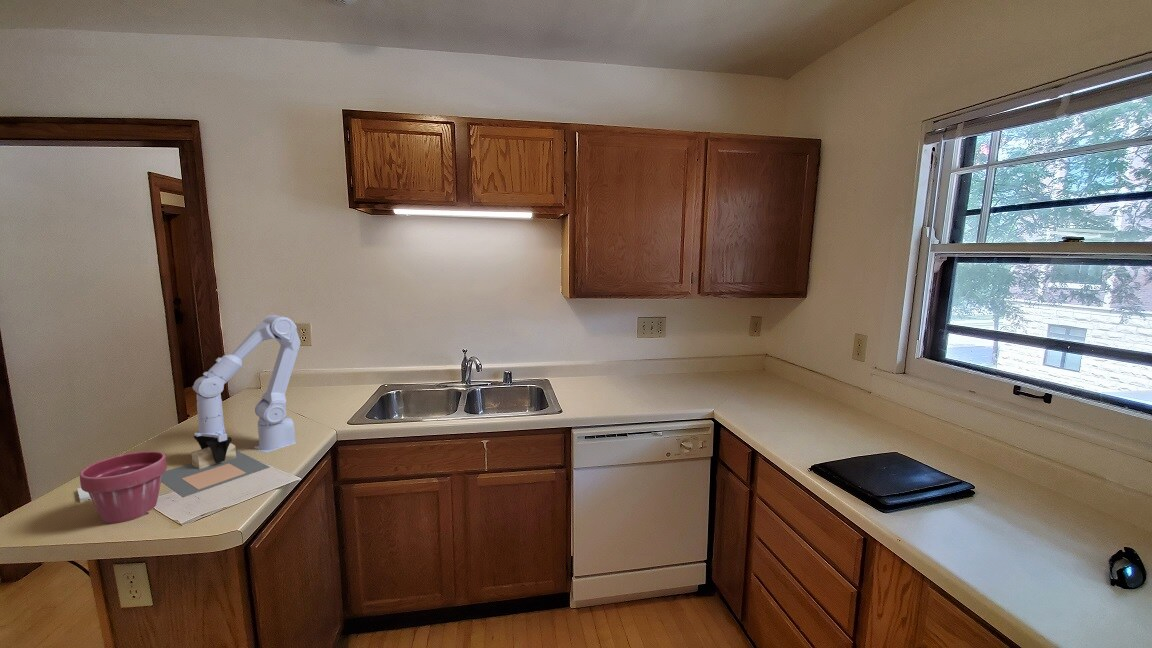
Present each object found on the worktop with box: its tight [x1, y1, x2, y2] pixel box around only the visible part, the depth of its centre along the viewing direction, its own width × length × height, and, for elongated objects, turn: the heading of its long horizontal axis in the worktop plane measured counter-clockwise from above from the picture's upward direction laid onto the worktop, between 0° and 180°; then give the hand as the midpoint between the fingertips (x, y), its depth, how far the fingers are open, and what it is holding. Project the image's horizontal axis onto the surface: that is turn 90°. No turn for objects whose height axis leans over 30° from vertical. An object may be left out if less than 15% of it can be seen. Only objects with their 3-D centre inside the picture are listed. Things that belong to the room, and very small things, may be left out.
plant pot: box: [79, 450, 168, 524], centre depth 102 cm, size 14×14×13 cm
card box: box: [190, 442, 237, 469], centre depth 129 cm, size 9×5×4 cm, turn 150°
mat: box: [161, 449, 271, 498], centre depth 123 cm, size 20×22×1 cm
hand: (214, 458), depth 129 cm, fingers open, 7 cm apart
